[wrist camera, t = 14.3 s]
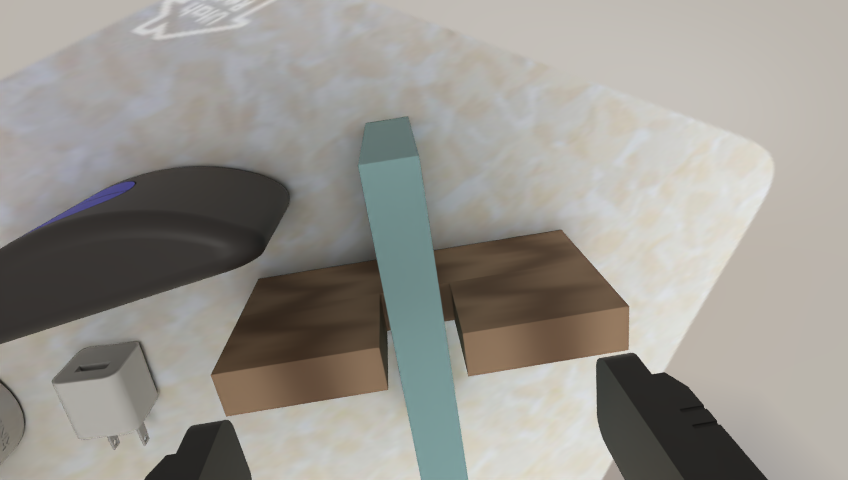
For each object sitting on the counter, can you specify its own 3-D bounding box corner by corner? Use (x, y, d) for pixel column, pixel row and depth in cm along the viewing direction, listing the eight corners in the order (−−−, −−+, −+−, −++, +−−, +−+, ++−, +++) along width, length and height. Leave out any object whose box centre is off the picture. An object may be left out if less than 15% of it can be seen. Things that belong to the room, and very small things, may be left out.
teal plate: (416, 394, 38) (427, 512, 28) (365, 123, 30) (357, 165, 21) (450, 388, 38) (471, 504, 28) (407, 116, 30) (418, 155, 21)
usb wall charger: (142, 340, 34) (114, 377, 31) (172, 420, 37) (148, 463, 33) (82, 347, 34) (46, 385, 31) (116, 427, 37) (86, 471, 33)
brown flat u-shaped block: (268, 311, 34) (226, 416, 25) (258, 278, 33) (210, 375, 24) (562, 263, 34) (628, 349, 25) (561, 229, 33) (629, 306, 24)
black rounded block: (267, 130, 30) (219, 172, 21) (298, 201, 32) (265, 267, 23) (13, 215, 31) (-135, 289, 22) (57, 280, 32) (-64, 372, 24)
